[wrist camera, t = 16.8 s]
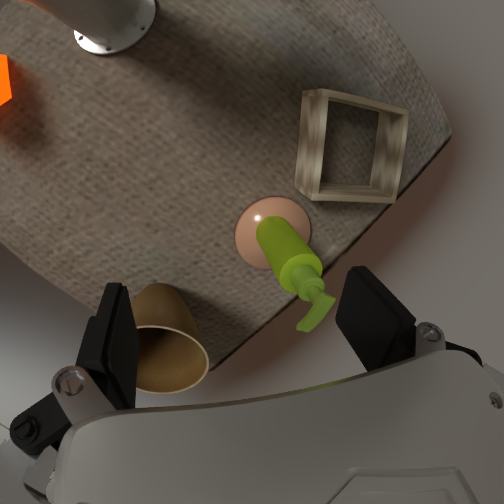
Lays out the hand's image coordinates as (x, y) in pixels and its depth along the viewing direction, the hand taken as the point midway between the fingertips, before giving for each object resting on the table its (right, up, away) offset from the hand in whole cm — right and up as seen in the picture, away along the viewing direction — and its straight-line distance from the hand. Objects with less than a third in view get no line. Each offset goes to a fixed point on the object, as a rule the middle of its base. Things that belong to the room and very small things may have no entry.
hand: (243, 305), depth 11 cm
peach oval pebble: (+4, +5, +37) cm, 37 cm away
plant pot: (-16, -6, +38) cm, 42 cm away
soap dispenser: (+3, +5, +36) cm, 36 cm away
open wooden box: (+15, +20, +32) cm, 41 cm away
